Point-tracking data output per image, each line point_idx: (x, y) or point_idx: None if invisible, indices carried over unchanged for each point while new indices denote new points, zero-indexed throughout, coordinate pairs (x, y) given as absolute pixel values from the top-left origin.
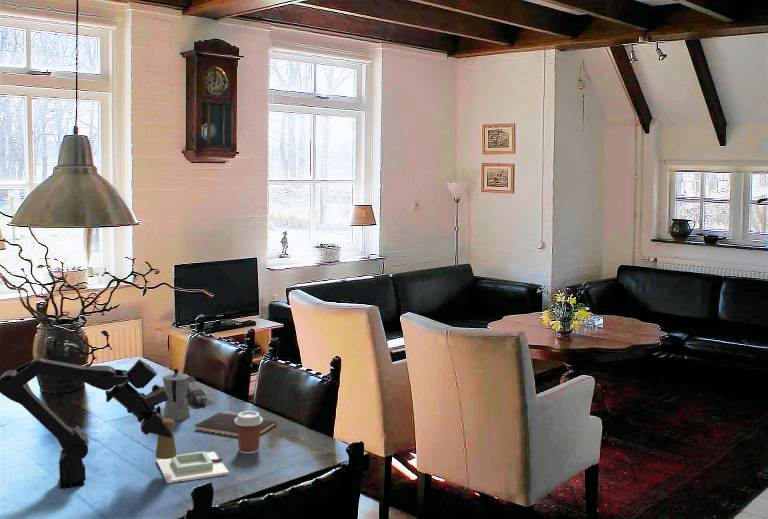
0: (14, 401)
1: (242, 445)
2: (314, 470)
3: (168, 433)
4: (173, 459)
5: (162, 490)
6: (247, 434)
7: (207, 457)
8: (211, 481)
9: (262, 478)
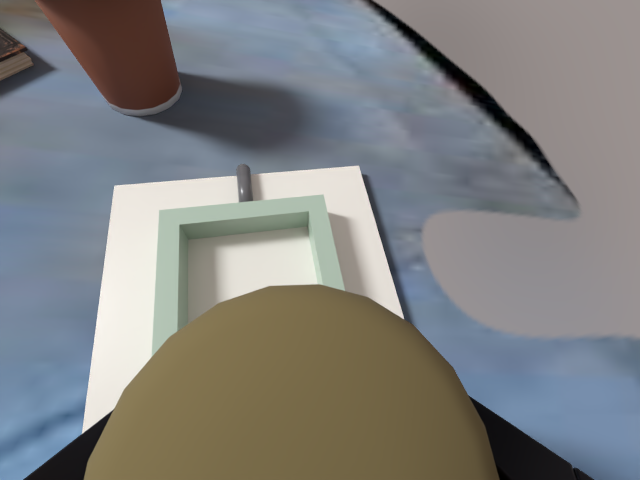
0: None
1: (157, 82)
2: (365, 6)
3: None
4: None
5: None
6: (157, 19)
7: (252, 207)
8: (414, 230)
9: (403, 99)
